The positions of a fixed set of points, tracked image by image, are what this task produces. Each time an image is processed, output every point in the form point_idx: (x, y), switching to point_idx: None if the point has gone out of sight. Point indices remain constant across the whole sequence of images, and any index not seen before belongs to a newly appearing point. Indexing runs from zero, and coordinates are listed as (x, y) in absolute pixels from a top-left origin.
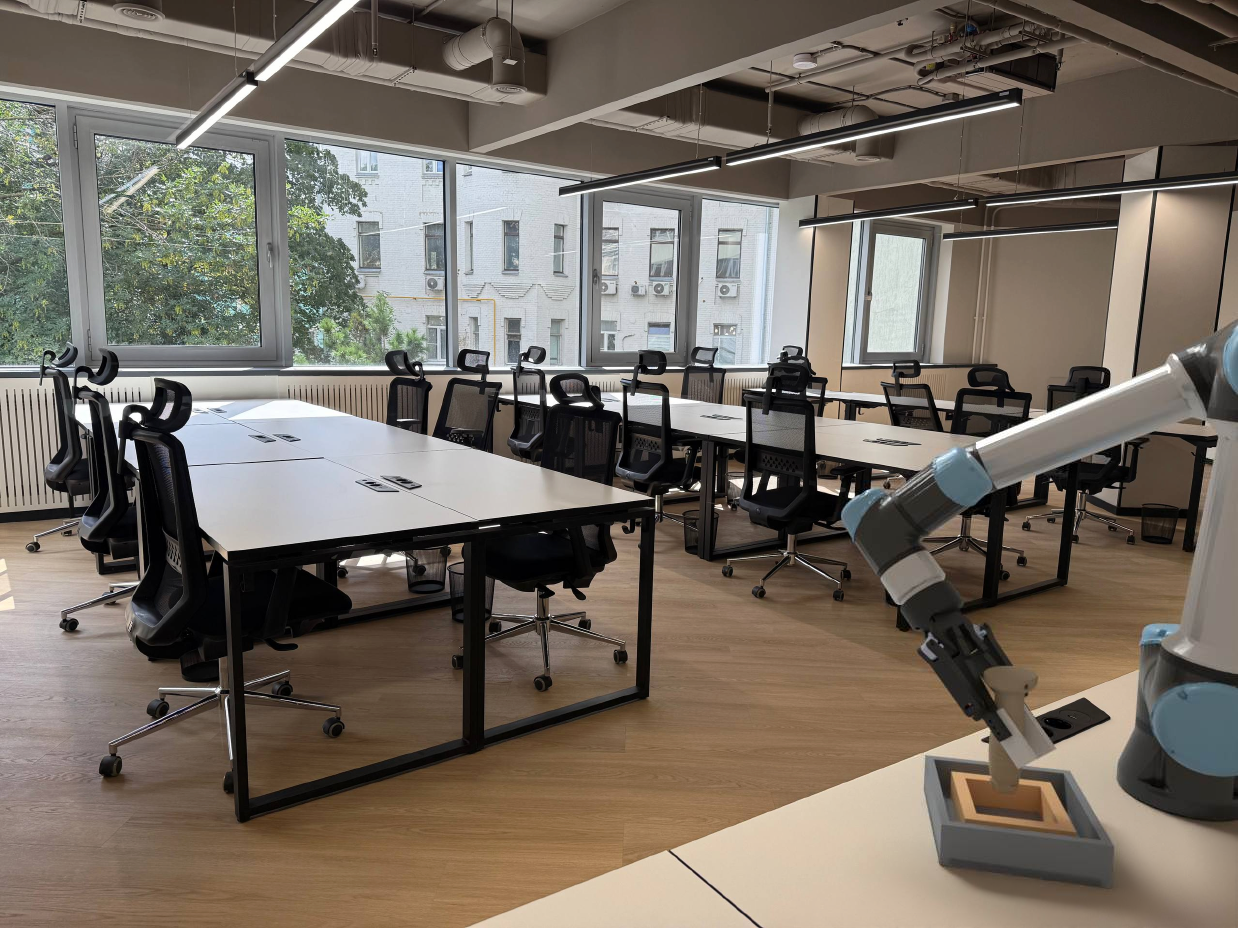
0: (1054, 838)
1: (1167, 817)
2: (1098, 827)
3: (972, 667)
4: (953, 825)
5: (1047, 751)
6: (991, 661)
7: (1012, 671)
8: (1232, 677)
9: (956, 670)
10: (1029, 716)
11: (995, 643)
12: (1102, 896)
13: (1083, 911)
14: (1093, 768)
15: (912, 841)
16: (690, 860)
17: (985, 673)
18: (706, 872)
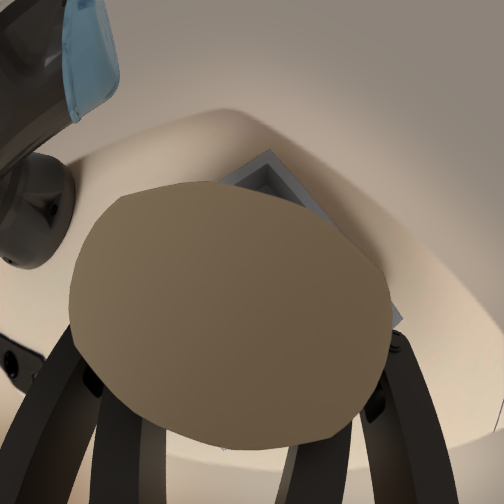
0: (314, 201)
1: (83, 198)
2: (236, 176)
3: (311, 496)
4: (394, 306)
5: None
6: (117, 466)
7: (165, 330)
8: None
9: (438, 479)
10: None
11: (5, 473)
12: None
13: (331, 178)
14: (35, 292)
15: None
16: (492, 426)
17: (350, 417)
18: (497, 409)
